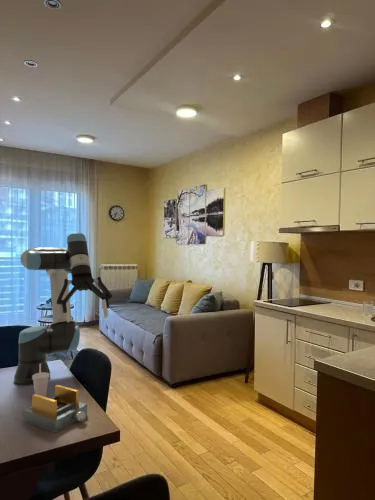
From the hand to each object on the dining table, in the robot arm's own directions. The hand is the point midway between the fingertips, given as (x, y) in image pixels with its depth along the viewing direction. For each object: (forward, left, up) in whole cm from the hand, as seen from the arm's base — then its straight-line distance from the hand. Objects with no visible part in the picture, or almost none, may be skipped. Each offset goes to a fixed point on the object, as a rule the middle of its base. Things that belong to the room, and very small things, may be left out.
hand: (88, 318), depth 129 cm
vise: (-5, -9, -34) cm, 36 cm away
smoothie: (-24, -1, -34) cm, 42 cm away
